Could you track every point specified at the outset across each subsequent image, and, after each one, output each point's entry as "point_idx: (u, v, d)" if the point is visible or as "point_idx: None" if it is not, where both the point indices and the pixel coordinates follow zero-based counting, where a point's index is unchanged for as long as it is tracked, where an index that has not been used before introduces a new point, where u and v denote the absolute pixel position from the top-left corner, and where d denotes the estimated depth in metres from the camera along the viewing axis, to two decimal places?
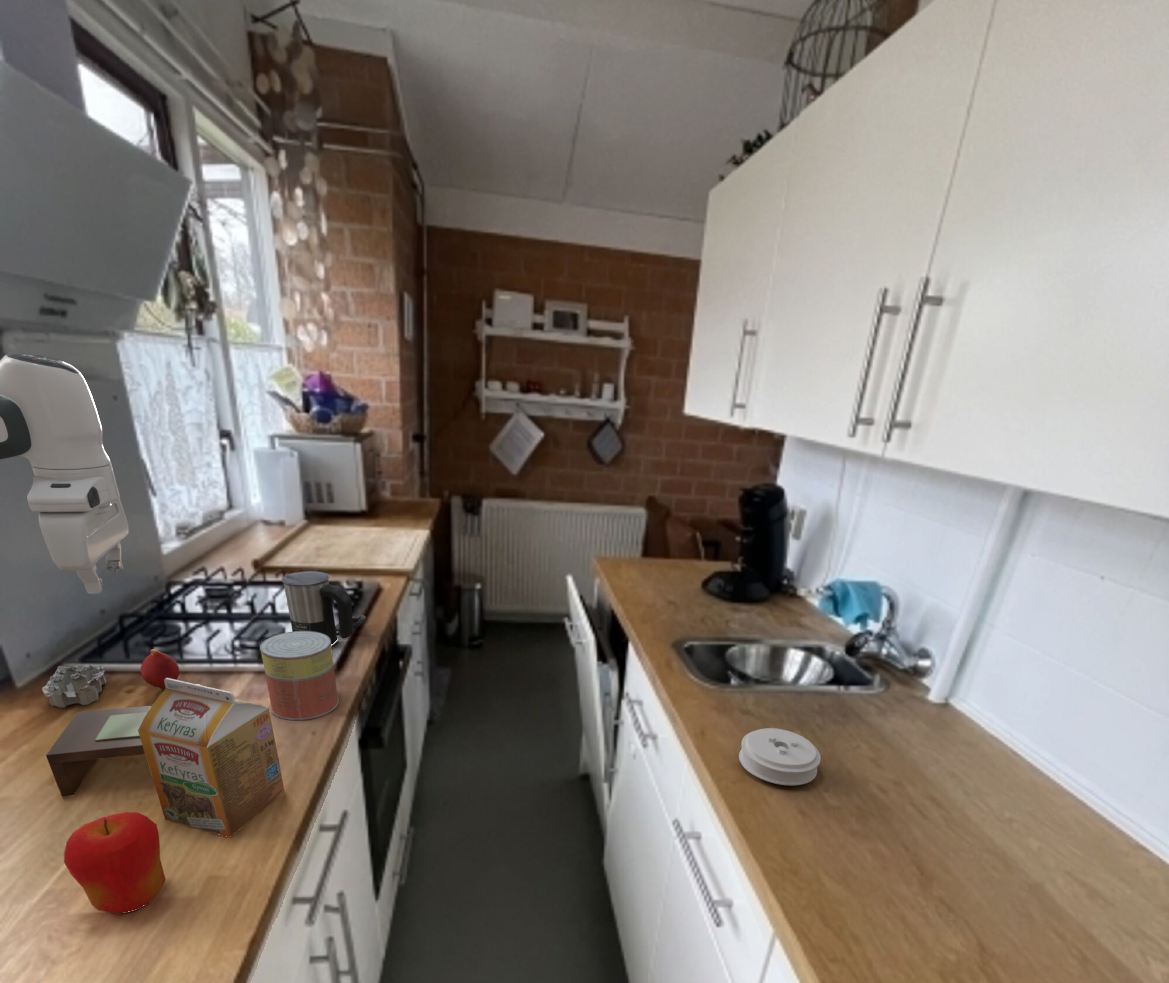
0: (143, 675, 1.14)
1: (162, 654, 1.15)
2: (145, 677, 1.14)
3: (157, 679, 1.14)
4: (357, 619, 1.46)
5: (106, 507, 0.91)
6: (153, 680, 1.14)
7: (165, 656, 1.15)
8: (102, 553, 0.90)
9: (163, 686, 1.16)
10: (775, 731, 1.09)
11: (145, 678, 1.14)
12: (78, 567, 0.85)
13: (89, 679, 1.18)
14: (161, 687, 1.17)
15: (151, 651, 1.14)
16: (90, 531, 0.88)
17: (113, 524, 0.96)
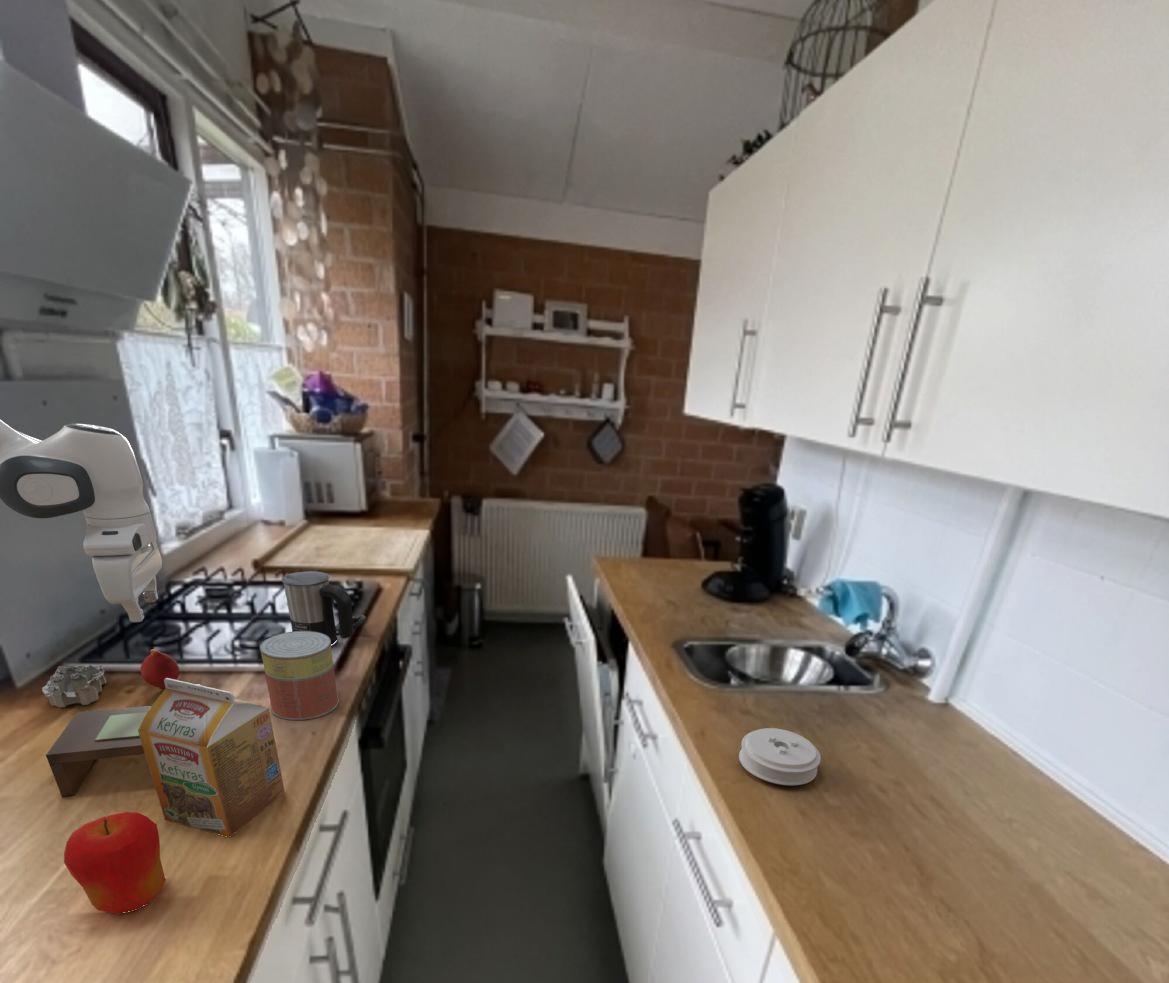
0: (143, 675, 1.14)
1: (162, 654, 1.15)
2: (145, 677, 1.14)
3: (157, 679, 1.14)
4: (357, 619, 1.46)
5: (146, 548, 1.06)
6: (153, 680, 1.14)
7: (165, 656, 1.15)
8: (143, 587, 1.06)
9: (163, 686, 1.16)
10: (775, 731, 1.09)
11: (145, 678, 1.14)
12: (125, 601, 1.01)
13: (89, 679, 1.18)
14: (161, 687, 1.17)
15: (151, 651, 1.14)
16: (133, 569, 1.04)
17: (150, 561, 1.11)
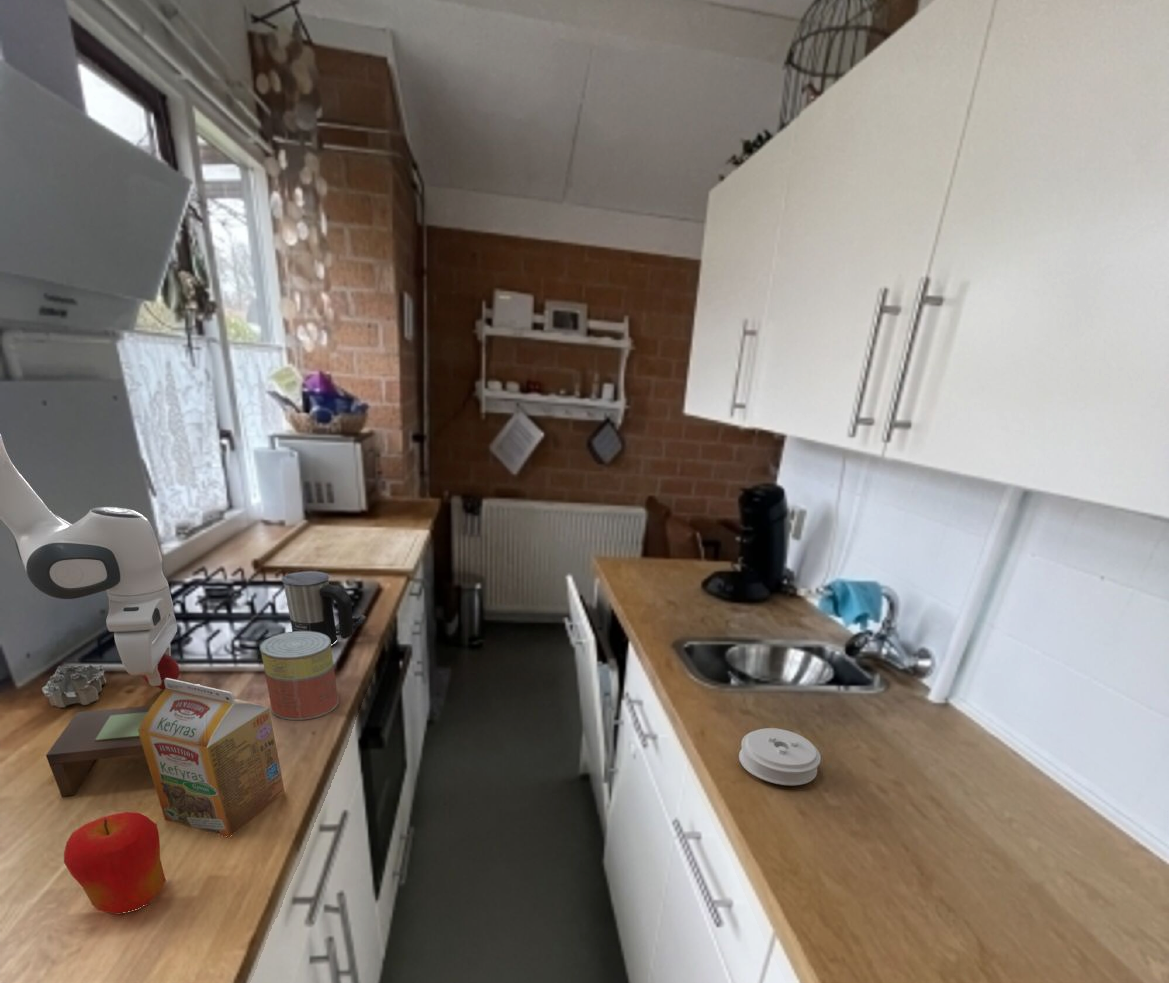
0: (143, 675, 1.14)
1: None
2: (145, 677, 1.14)
3: None
4: (357, 619, 1.46)
5: (164, 619, 1.12)
6: None
7: (165, 656, 1.15)
8: (160, 656, 1.12)
9: (163, 686, 1.16)
10: (775, 731, 1.09)
11: (145, 678, 1.14)
12: (144, 673, 1.07)
13: (89, 679, 1.18)
14: (161, 687, 1.17)
15: None
16: (152, 641, 1.09)
17: (167, 628, 1.17)
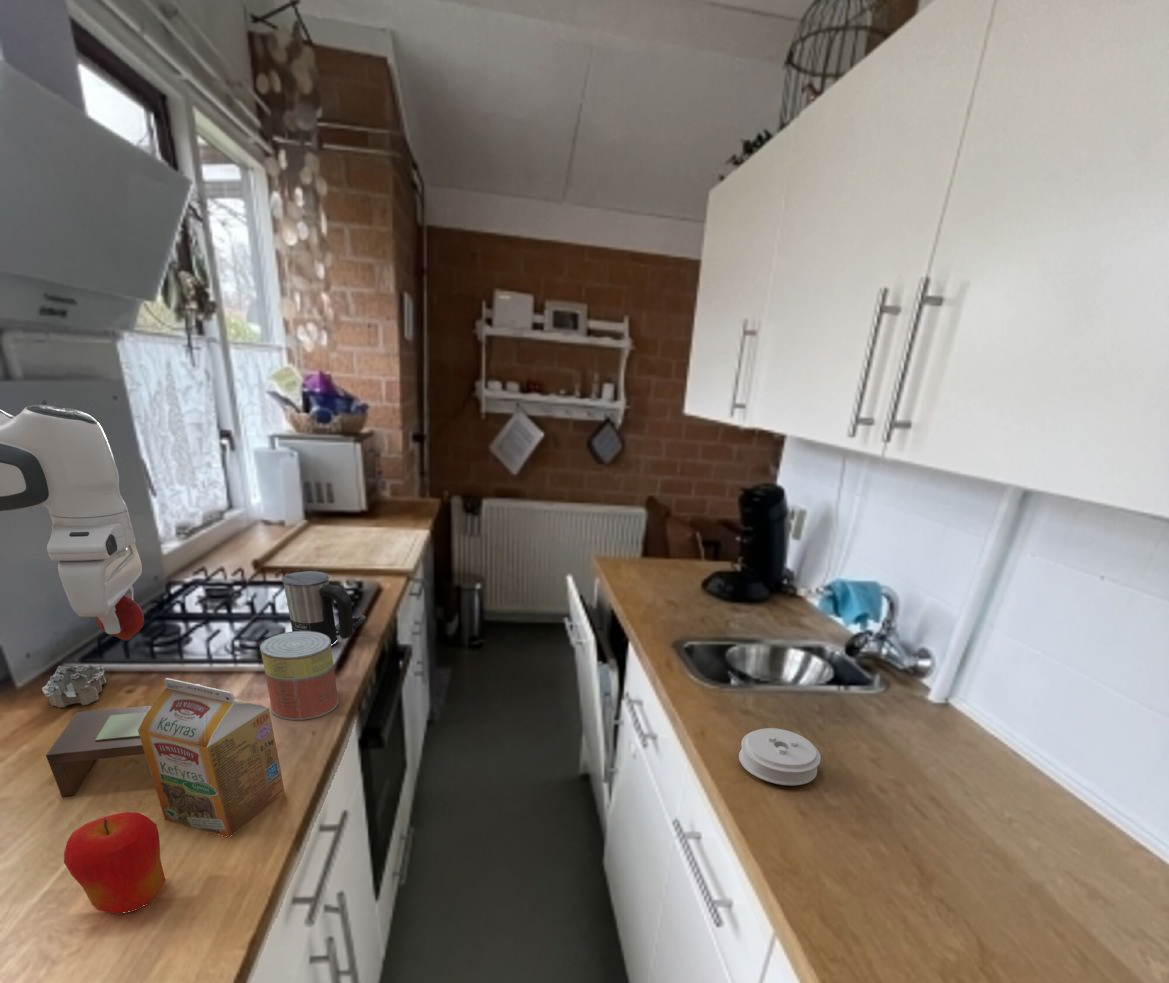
0: (99, 621, 0.94)
1: None
2: (102, 624, 0.94)
3: None
4: (357, 619, 1.46)
5: (122, 552, 0.92)
6: None
7: (126, 599, 0.95)
8: (118, 597, 0.92)
9: (124, 636, 0.96)
10: (775, 731, 1.09)
11: (101, 625, 0.94)
12: (96, 614, 0.86)
13: (89, 679, 1.18)
14: (122, 637, 0.97)
15: None
16: (107, 577, 0.89)
17: (128, 566, 0.97)
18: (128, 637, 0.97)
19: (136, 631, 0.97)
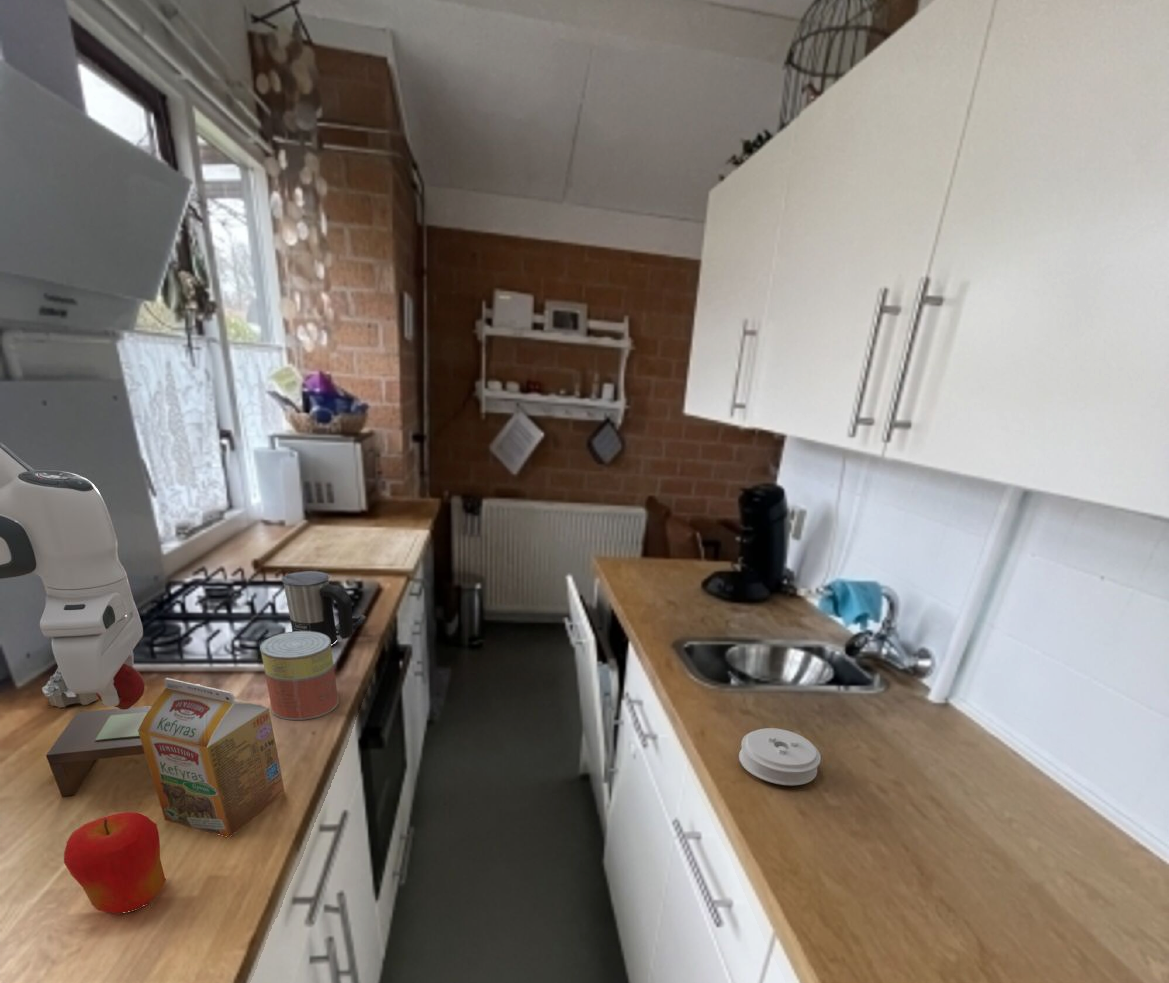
0: None
1: None
2: (99, 695, 0.89)
3: None
4: (357, 619, 1.46)
5: (121, 620, 0.86)
6: None
7: (125, 667, 0.90)
8: (117, 668, 0.86)
9: (123, 706, 0.91)
10: (775, 731, 1.09)
11: (99, 696, 0.89)
12: (93, 691, 0.81)
13: None
14: (121, 707, 0.91)
15: None
16: (105, 649, 0.84)
17: (128, 632, 0.91)
18: (128, 706, 0.92)
19: (136, 700, 0.92)
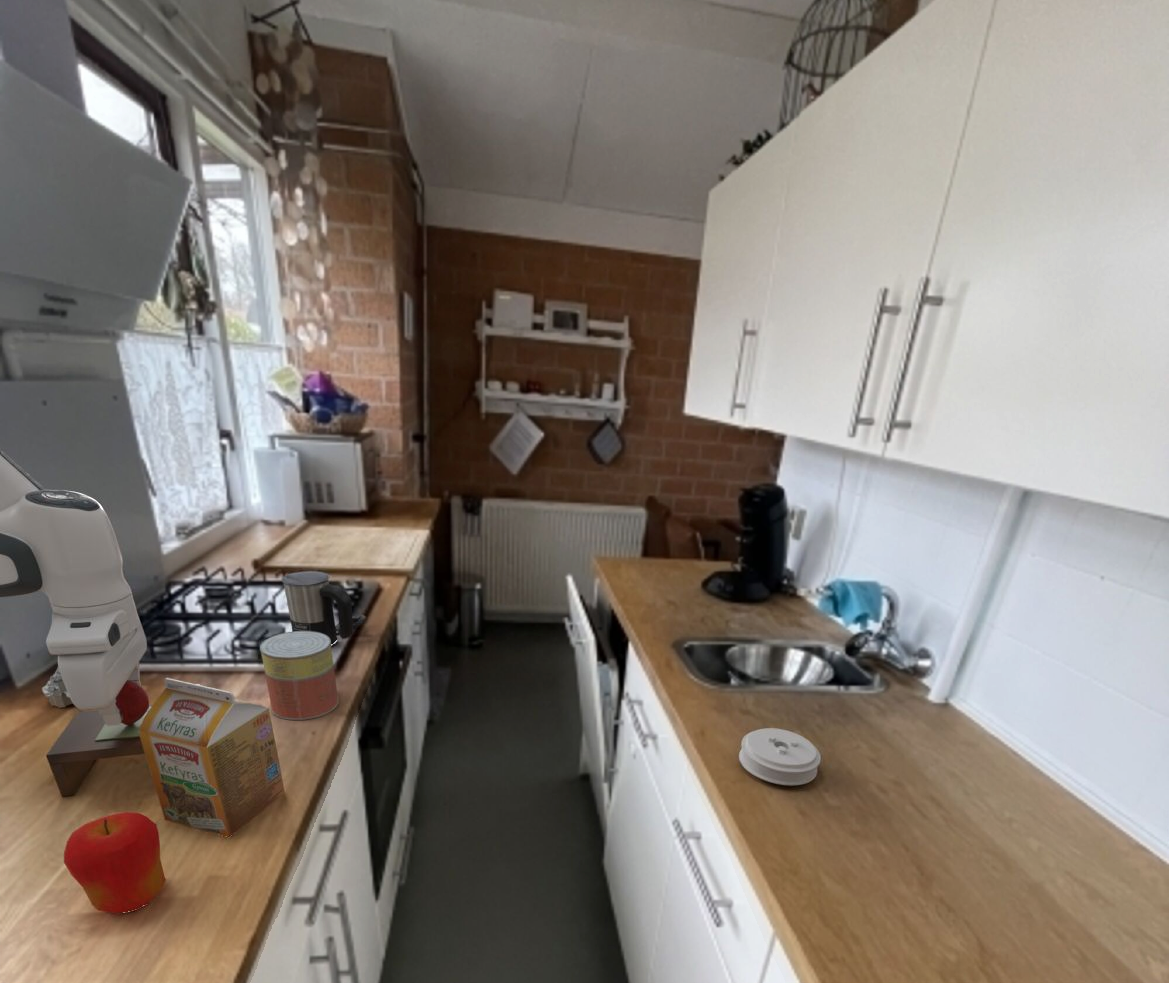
0: None
1: (126, 682, 0.91)
2: None
3: None
4: (357, 619, 1.46)
5: (126, 636, 0.87)
6: None
7: (130, 684, 0.91)
8: (122, 684, 0.87)
9: (128, 722, 0.92)
10: (775, 731, 1.09)
11: None
12: (98, 707, 0.82)
13: None
14: (125, 723, 0.92)
15: None
16: (110, 665, 0.85)
17: (132, 647, 0.93)
18: (132, 722, 0.93)
19: (140, 716, 0.93)
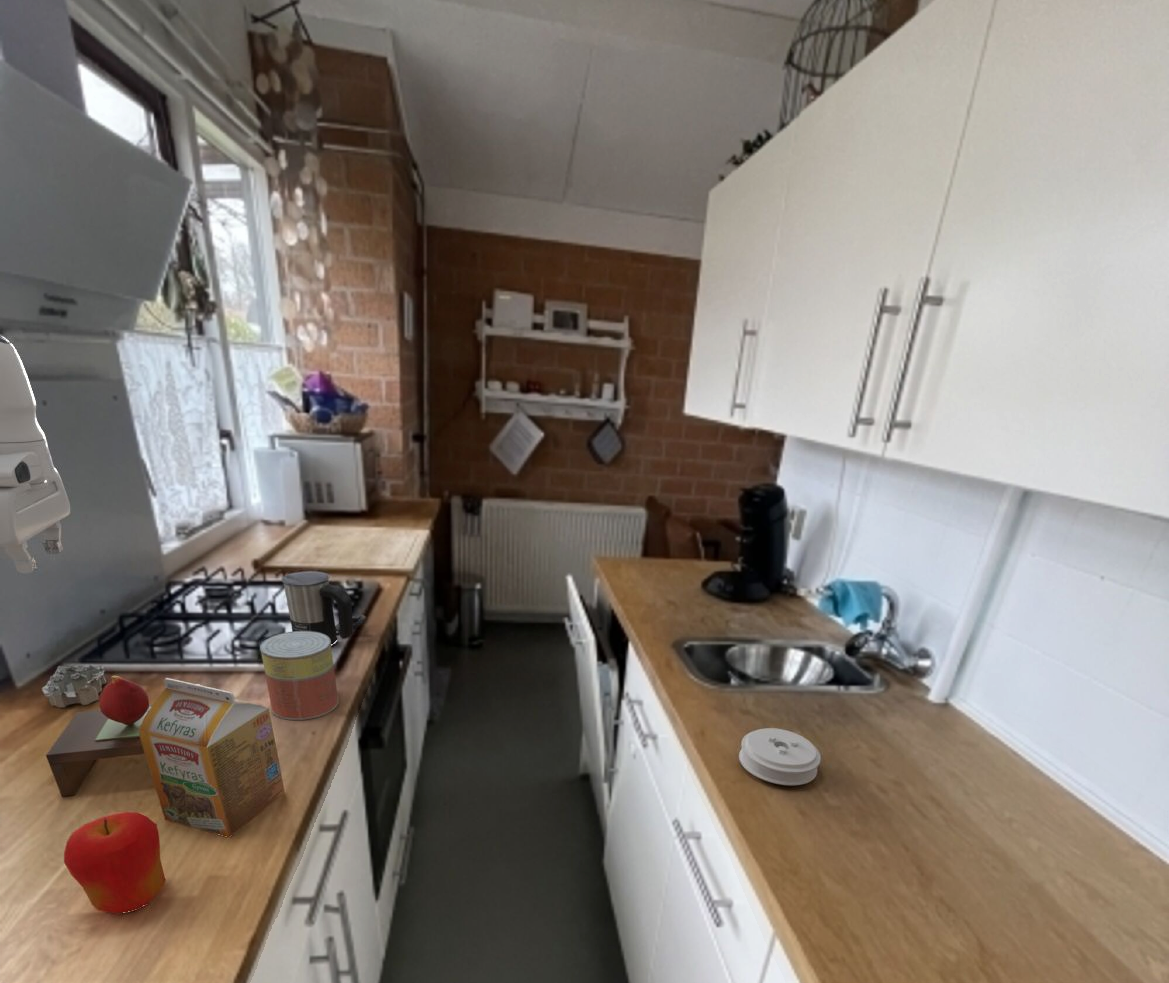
0: (102, 709, 0.90)
1: (126, 682, 0.91)
2: (105, 711, 0.90)
3: (120, 714, 0.90)
4: (357, 619, 1.46)
5: (40, 484, 0.88)
6: (114, 715, 0.90)
7: (130, 684, 0.91)
8: (34, 531, 0.88)
9: (128, 722, 0.92)
10: (775, 731, 1.09)
11: (104, 712, 0.90)
12: (4, 544, 0.82)
13: (89, 679, 1.18)
14: (125, 723, 0.92)
15: (112, 678, 0.90)
16: (20, 508, 0.85)
17: (51, 503, 0.93)
18: (132, 722, 0.93)
19: (140, 716, 0.93)
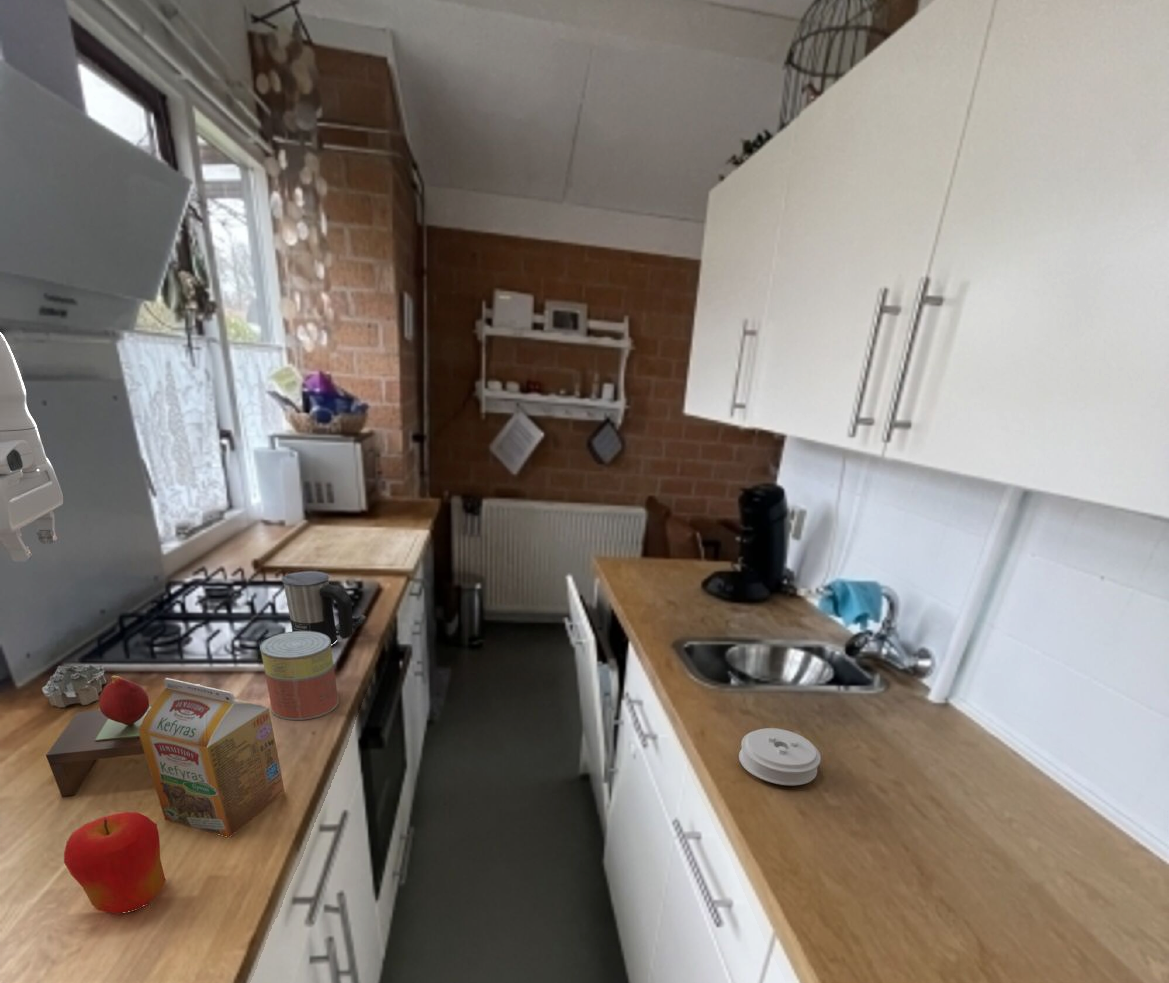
0: (102, 709, 0.90)
1: (126, 682, 0.91)
2: (105, 711, 0.90)
3: (120, 714, 0.90)
4: (357, 619, 1.46)
5: (32, 472, 0.88)
6: (114, 715, 0.90)
7: (130, 684, 0.91)
8: (28, 519, 0.88)
9: (128, 722, 0.92)
10: (775, 731, 1.09)
11: (104, 712, 0.90)
12: None
13: (89, 679, 1.18)
14: (125, 723, 0.92)
15: (112, 678, 0.90)
16: (13, 496, 0.86)
17: (43, 492, 0.93)
18: (132, 722, 0.93)
19: (140, 716, 0.93)
